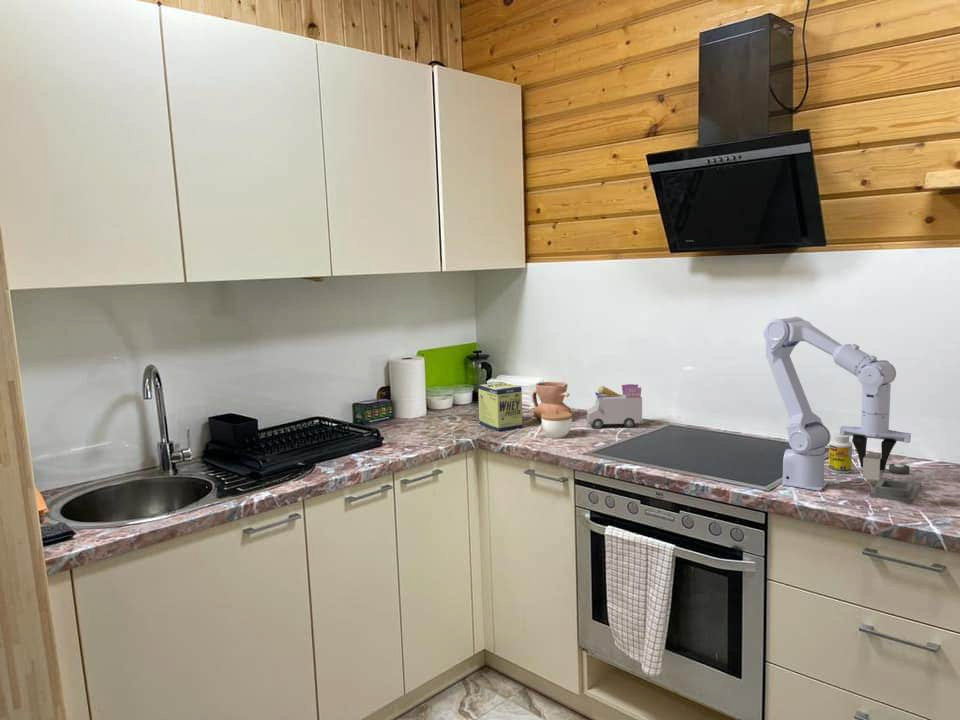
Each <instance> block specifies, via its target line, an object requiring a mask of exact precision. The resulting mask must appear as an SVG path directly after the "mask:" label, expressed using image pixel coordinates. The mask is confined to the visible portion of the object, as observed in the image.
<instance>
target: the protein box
mask: <svg viewBox="0 0 960 720" xmlns="http://www.w3.org/2000/svg"><path fill="white" fill-rule="evenodd" d="M477 386H478V418H479V419H478V420H479V423H478V424H479V425H480V426H484V427H485V428H488V429H490V430H492V429H493V431H495V430H496V431H495V432H497V431H498V433H499V431H501V432H506V431H505V430H507V431H512V430H511V429H514V430H518V429H517V428H521V429H523V399H522V397H523V396H522V395H523V394H522V391H523V390H522V389H523V388H522V386H519V385H514V384H512V383H508V382H503V381H497V382H489V383H482V384H481V383H480V384H478V385H477Z"/></svg>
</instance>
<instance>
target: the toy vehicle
mask: <svg viewBox="0 0 960 720" xmlns="http://www.w3.org/2000/svg"><path fill="white" fill-rule="evenodd" d="M621 391H622V394H620V393H617V392H615V391H614V390H612V389H609V388H608V387H606V386H604V385H602V386H599V387H598V388H597V391H595V396H596V400H595V405H594V406H592V407H591V408H590V407H589V408H588V409H587V410H586V417H585V420H586V422H587V424H588V425H592V427H593V428H595V429H597V430H599V429H601V428H603V425H618V424H620V425H621V424H623V425H624V426H625V428H627V429H632V428H633V427H636V425H637V424H644V420H643V397H642V396H641V394H642V387H641V386H640V387H639V384H638V383H637V384H633V383H631V384H629V383H627V384H621Z"/></svg>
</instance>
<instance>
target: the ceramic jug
mask: <svg viewBox="0 0 960 720" xmlns="http://www.w3.org/2000/svg"><path fill="white" fill-rule="evenodd" d="M535 388H536V389H535V390H533V392H532V395H531V399H532V403H533V405H534V409H533V416H534V417H535V418H536V419H537V420H539V421H541V414H542V413H545V412H551V411H555V409H557V410H558V411H564V412H569V413H571V414H572V409H571V408H570V407H569V406H568V405H567V404H565V403H564V399H565V398H569V396H571V394H570V393H569V392H567V390H568V383H567V382H562V381H560V382H559V381H540V382H537V383H535ZM537 395H538V398H539V401H540V404H539V403H538V398H537Z"/></svg>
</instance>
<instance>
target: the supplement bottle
mask: <svg viewBox="0 0 960 720" xmlns="http://www.w3.org/2000/svg"><path fill="white" fill-rule="evenodd" d="M828 445H829V447H828V448H829V449H828V470H829V471H830V472H832V473H834V474H835V473H836V474H849V473H851V471H852V458H853V442H850V436H848V435H845V436H842V435H840V432H839V433H833V434H832V440H830V442H829V444H828Z"/></svg>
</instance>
